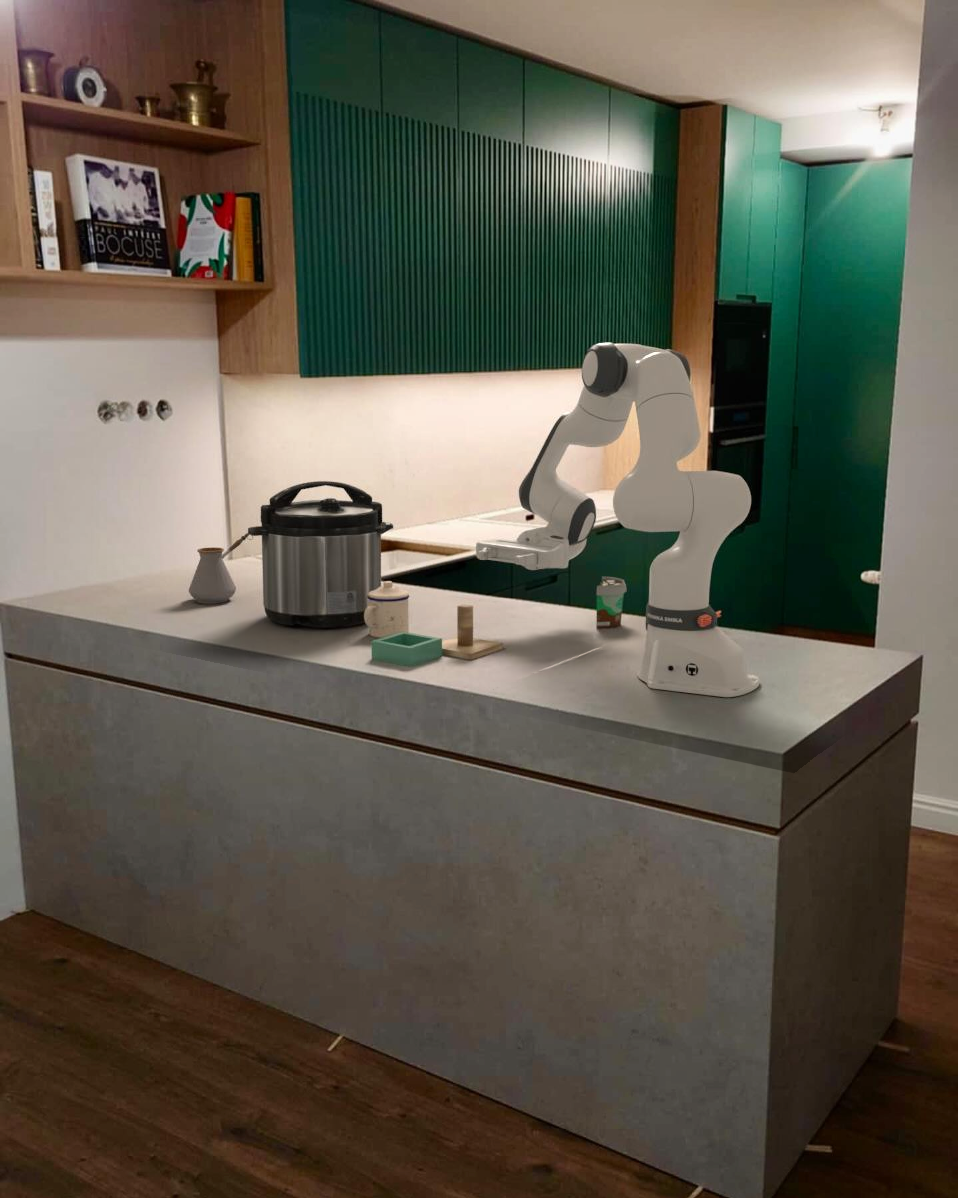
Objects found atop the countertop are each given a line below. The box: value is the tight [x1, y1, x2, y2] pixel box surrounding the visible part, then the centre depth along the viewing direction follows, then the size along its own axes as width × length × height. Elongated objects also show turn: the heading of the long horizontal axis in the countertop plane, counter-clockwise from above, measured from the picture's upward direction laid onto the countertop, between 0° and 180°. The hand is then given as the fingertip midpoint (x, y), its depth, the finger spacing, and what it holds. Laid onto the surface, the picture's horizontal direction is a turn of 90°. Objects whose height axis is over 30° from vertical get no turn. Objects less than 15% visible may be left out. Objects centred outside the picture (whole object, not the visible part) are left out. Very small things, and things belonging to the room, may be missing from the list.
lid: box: [442, 604, 504, 661], centre depth 242 cm, size 11×11×9 cm
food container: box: [595, 576, 628, 630], centre depth 267 cm, size 12×6×10 cm, turn 168°
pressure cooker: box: [247, 480, 394, 629], centre depth 272 cm, size 30×28×32 cm
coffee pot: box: [188, 532, 254, 605], centre depth 297 cm, size 21×12×15 cm, turn 152°
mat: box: [442, 647, 506, 662], centre depth 243 cm, size 12×12×1 cm
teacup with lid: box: [364, 580, 410, 639], centre depth 257 cm, size 12×9×12 cm
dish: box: [370, 632, 443, 667], centre depth 237 cm, size 10×10×4 cm
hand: (499, 558), depth 250 cm, fingers open, 8 cm apart
